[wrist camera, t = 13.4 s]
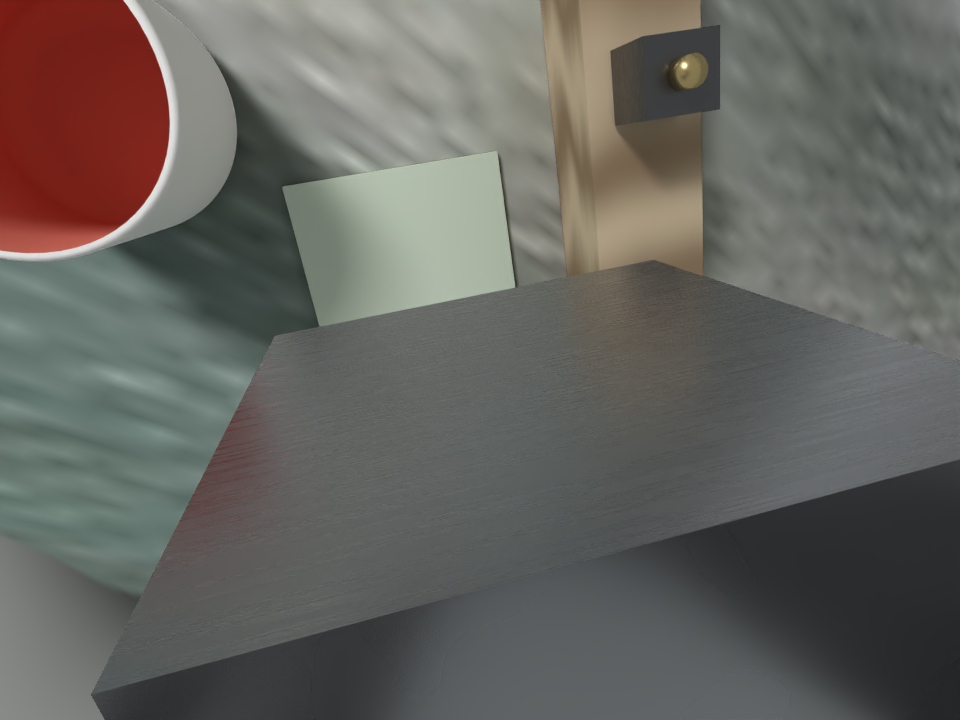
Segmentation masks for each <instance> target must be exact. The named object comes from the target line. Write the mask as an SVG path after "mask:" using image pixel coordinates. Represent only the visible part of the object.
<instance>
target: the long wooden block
mask: <svg viewBox="0 0 960 720" xmlns="http://www.w3.org/2000/svg"><path fill="white" fill-rule="evenodd" d="M541 11H542V21H543V31H544V41H545V51H546V62H547V72H548V82H549V92H550V102H551V113H552V123H553V133H554V143H555V153H556V164H557V174H558V184H559V194H560V204H561V215H562V225H563V235H564V245H565V255H566V265H567V276H568V277H570V276H575V275H580V274H585V273H590V272H595V271H600V270H605V269H610V268H615V267H620V266H625V265H630V264H635V263H640V262H645V261H650V260H656V261H659V262H662V263H665V264H668V265H671V266H674V267H677V268H680V269H683V270H687V271H690V272H693V273H696V274H699V275H702V276H703V207H702V112H699V113H692V114H686V115H680V116H674V117H668V118H662V119H656V120H650V121H644V122H637V123H631V124H624V125H617V126H615V119H614V102H613V86H612V70H611V53H610V51H611V50H613V49H616V48H618V47H620V46H622V45H624V44H627V43H629V42H631V41H633V40H635V39H638V38H640V37H642V36H647V35H654V34H661V33H668V32H675V31H682V30H689V29H696V28H701V4H700V0H541Z"/></svg>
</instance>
